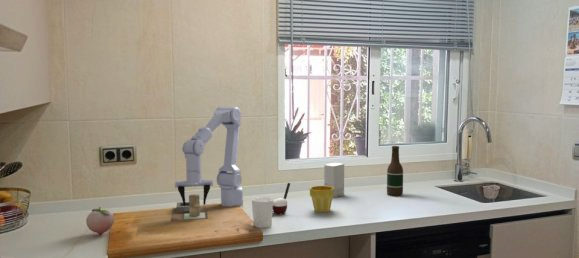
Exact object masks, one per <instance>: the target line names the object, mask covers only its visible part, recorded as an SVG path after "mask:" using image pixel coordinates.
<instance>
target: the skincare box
mask: <svg viewBox="0 0 579 258" xmlns="http://www.w3.org/2000/svg"><path fill="white" fill-rule="evenodd" d="M323 169H324V170H323V171H324V172H323V173H324V178H323V179H324V182H323V183H324V184H323V186H331V187H333V188H334V196H333V197H332V199H333V198H337V197H340V196H344V195H345V163H341V162H331V163H326V164H324V168H323Z"/></svg>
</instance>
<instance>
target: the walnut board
mask: <svg viewBox="0 0 579 258" xmlns="http://www.w3.org/2000/svg"><path fill="white" fill-rule="evenodd" d="M203 212H205V218H204V219H203V220H209V216H208V207H207V205H200V213H203ZM184 214H187V213H176V207H172V212H171V217H170V222H181V221H183V222H184V221H186V220H184ZM195 220H196V221H197V220H199V221H200V220H202V219H188V220H187V221H195Z"/></svg>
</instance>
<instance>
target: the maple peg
mask: <svg viewBox="0 0 579 258" xmlns="http://www.w3.org/2000/svg"><path fill="white" fill-rule="evenodd" d="M188 202H189V215H190V217H197V216H200V206H201V205H200V204H201V203H200V202H201V201H200V194H190V195H189V196H188Z"/></svg>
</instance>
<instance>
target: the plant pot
mask: <svg viewBox="0 0 579 258" xmlns="http://www.w3.org/2000/svg"><path fill="white" fill-rule="evenodd" d="M333 196H334V188H333V187H331V186H324V185H314V186H311V187H309V197H311V201H312V205H313V208H314V212H317V213H328V212H330V211H331V207H332V201H333Z"/></svg>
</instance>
